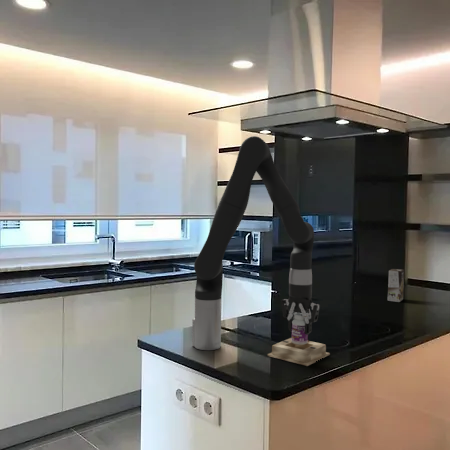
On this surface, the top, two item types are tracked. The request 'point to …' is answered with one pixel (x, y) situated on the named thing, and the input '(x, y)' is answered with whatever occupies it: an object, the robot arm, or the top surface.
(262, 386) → the top surface
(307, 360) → the holder
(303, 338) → the pill bottle
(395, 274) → the coffee box
